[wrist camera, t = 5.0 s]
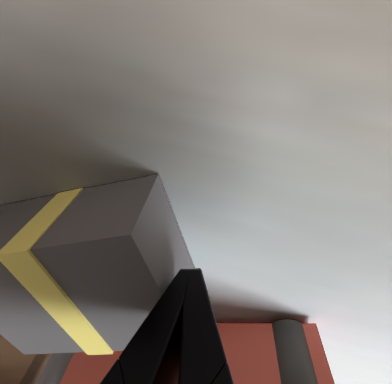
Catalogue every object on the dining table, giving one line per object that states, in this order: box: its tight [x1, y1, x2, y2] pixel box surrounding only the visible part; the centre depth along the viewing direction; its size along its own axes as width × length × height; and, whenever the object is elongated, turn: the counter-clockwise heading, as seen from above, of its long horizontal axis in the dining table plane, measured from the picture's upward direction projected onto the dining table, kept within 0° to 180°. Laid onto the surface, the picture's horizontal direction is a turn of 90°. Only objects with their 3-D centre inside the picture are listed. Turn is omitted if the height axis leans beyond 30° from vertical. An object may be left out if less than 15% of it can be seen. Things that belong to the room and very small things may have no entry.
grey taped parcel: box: [0, 174, 195, 355], centre depth 11 cm, size 6×8×4 cm
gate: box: [36, 319, 334, 384], centre depth 13 cm, size 15×2×6 cm, turn 99°
